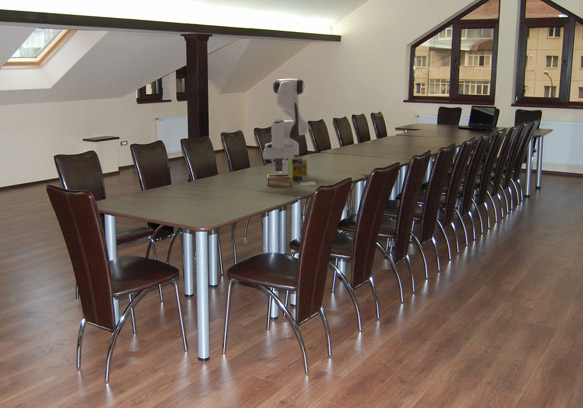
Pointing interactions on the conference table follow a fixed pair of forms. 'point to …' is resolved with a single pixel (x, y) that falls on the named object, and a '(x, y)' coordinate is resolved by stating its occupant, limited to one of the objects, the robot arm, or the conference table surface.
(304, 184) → the felt pad
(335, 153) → the conference table surface
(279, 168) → the capped block
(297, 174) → the protein box
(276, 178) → the brown wooden open box
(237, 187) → the conference table surface
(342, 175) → the conference table surface
